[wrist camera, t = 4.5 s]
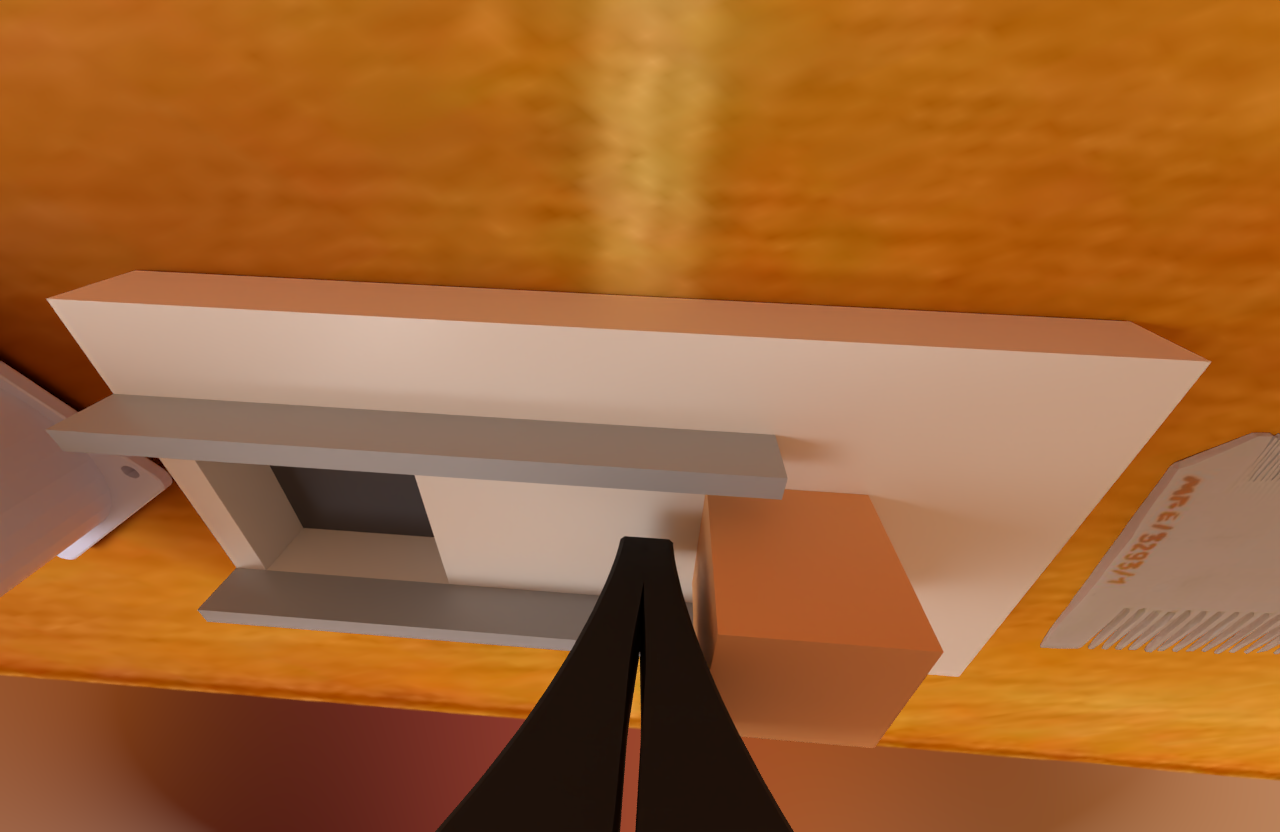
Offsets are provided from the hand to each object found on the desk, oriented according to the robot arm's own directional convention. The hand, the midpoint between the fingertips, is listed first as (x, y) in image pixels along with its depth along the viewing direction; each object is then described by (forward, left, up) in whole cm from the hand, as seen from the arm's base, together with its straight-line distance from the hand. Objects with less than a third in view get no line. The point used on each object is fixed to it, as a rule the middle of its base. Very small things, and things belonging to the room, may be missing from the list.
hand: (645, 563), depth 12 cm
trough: (-1, -1, -3) cm, 3 cm away
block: (+2, +3, -1) cm, 4 cm away
